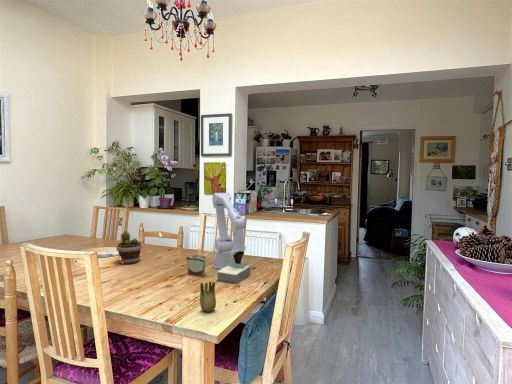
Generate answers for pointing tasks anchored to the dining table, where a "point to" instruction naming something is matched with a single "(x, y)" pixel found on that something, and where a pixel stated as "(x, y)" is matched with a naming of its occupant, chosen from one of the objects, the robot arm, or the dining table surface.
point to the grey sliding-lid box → (234, 277)
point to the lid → (233, 269)
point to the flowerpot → (129, 249)
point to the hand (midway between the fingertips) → (238, 265)
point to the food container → (196, 265)
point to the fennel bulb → (207, 297)
